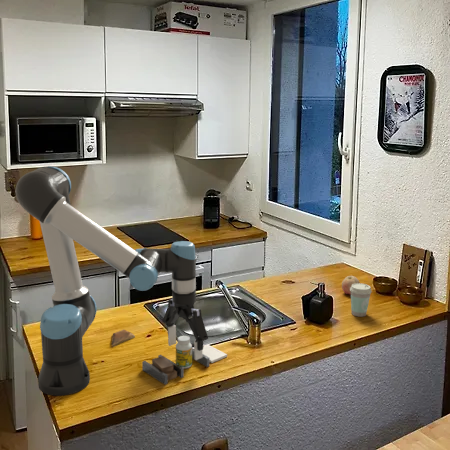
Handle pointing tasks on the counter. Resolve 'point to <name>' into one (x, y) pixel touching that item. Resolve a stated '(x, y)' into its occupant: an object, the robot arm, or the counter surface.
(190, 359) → the supplement bottle
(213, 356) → the pad
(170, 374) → the offcut lower
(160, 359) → the offcut upper
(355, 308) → the coffee cup
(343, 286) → the fruit
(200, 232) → the counter surface
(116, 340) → the shard
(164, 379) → the grey cradle
